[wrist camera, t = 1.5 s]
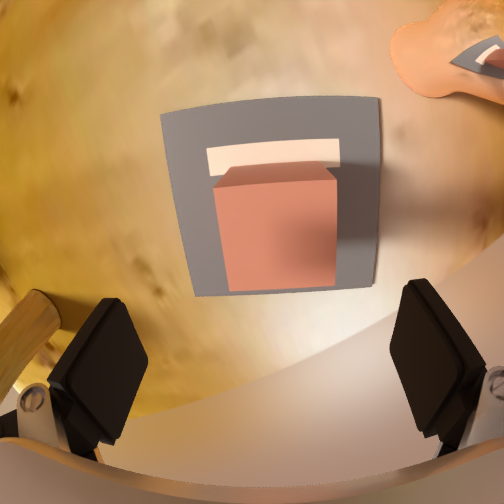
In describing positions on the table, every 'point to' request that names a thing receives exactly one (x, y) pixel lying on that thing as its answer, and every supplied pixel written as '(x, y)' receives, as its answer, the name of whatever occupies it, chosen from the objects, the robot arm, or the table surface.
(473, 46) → the beer glass
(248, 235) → the block
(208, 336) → the table surface
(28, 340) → the vase
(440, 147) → the table surface
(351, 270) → the board
